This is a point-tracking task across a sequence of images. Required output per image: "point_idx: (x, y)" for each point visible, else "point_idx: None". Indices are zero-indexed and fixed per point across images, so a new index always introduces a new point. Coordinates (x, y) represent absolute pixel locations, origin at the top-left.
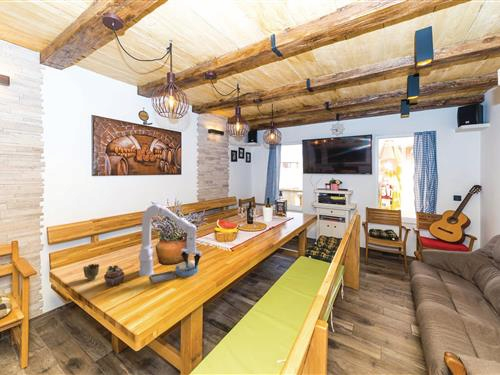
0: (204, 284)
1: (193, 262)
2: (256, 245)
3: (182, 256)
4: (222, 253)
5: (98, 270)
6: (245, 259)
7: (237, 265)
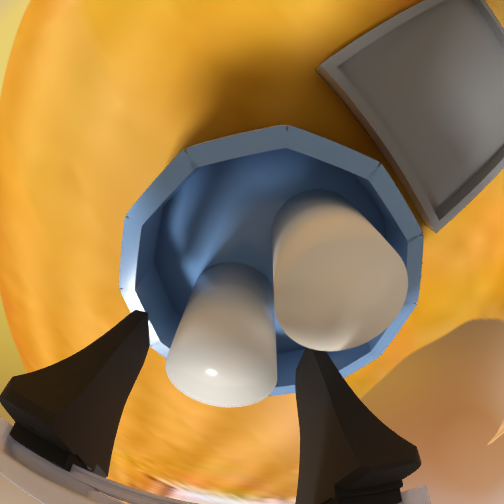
0: (15, 92)
1: (171, 362)
2: None
3: (386, 432)
4: (175, 471)
5: None
6: None
7: None
